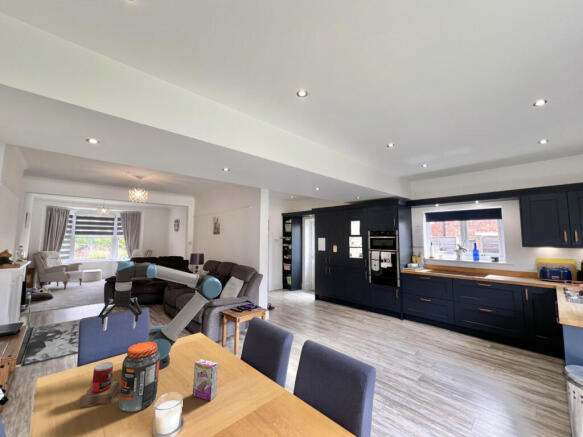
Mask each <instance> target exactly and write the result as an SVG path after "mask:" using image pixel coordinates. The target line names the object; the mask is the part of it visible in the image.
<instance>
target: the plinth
mask: <svg viewBox="0 0 583 437" xmlns="http://www.w3.org/2000/svg"><path fill="white" fill-rule="evenodd" d="M119 383H120V382H119V381H118V380H115V381H112V383H111V387H110V388H109V389H108V390H107V391H105V392H102V393H93V392H92V385H90V387H89V389H88V390H86V393H85V394H84V396H83V397H82V398H81V400H80V405H79V408H80V409H81V408H87V407H88V408H89V407H93V406H99V405H104V404H105V405H106V404H109V403H112V402H113V400H114V398H115V396H116V394H117V392H118V390H119V388H120V384H119Z"/></svg>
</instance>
